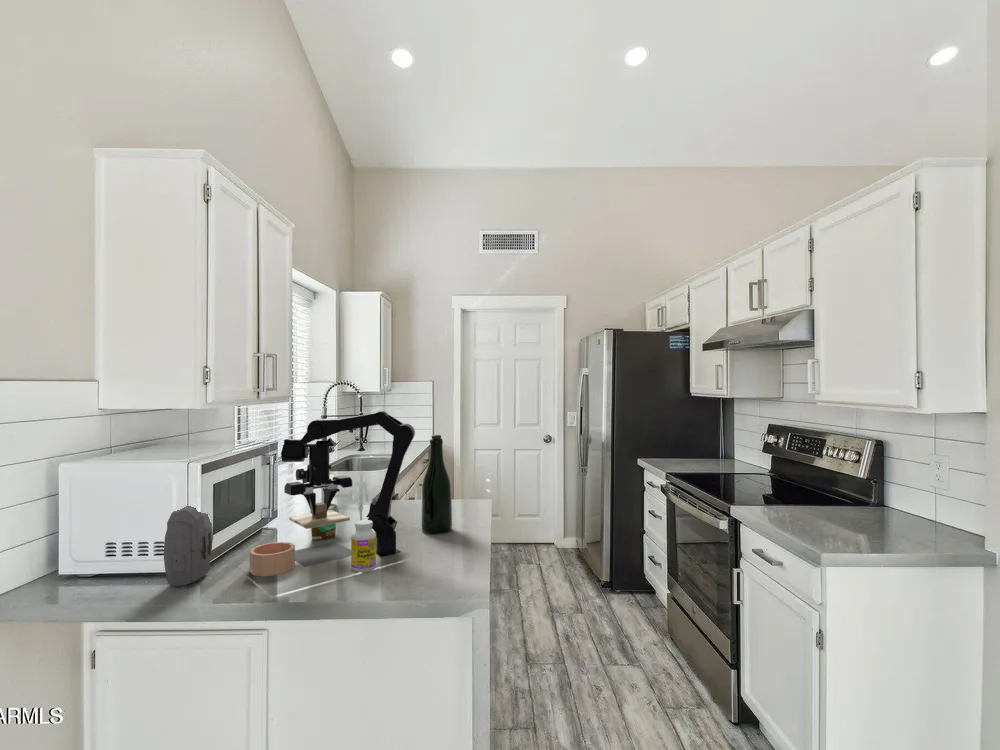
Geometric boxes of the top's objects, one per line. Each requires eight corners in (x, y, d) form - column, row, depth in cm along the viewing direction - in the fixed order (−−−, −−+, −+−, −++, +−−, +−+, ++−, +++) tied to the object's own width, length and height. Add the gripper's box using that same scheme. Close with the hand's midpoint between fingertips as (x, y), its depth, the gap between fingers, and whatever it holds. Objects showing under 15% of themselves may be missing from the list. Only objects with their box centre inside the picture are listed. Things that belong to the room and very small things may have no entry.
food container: (327, 544, 167) (326, 512, 167) (309, 543, 168) (309, 511, 168) (345, 532, 179) (345, 503, 179) (329, 532, 180) (329, 502, 180)
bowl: (300, 570, 144) (300, 548, 144) (258, 581, 137) (258, 558, 137) (285, 560, 152) (285, 539, 152) (245, 569, 145) (244, 548, 145)
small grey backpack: (191, 570, 145) (190, 497, 145) (222, 569, 145) (222, 497, 145) (158, 592, 130) (158, 511, 130) (193, 591, 130) (193, 510, 130)
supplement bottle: (354, 574, 141) (353, 526, 141) (348, 566, 147) (348, 520, 147) (378, 570, 144) (378, 523, 144) (372, 562, 150) (372, 517, 150)
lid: (349, 520, 156) (349, 504, 156) (306, 528, 147) (306, 511, 147) (330, 512, 166) (330, 497, 166) (289, 519, 157) (289, 503, 157)
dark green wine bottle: (416, 533, 178) (415, 436, 178) (429, 525, 188) (428, 433, 188) (445, 536, 175) (444, 436, 175) (456, 527, 185) (456, 433, 185)
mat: (358, 555, 156) (358, 553, 156) (305, 568, 145) (305, 566, 145) (334, 543, 168) (334, 541, 168) (283, 554, 157) (283, 553, 157)
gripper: (337, 455, 169) (337, 504, 169) (277, 461, 156) (277, 514, 156) (353, 459, 160) (353, 510, 160) (291, 466, 148) (291, 521, 148)
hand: (319, 513), depth 156 cm, fingers closed on lid, 3 cm apart
